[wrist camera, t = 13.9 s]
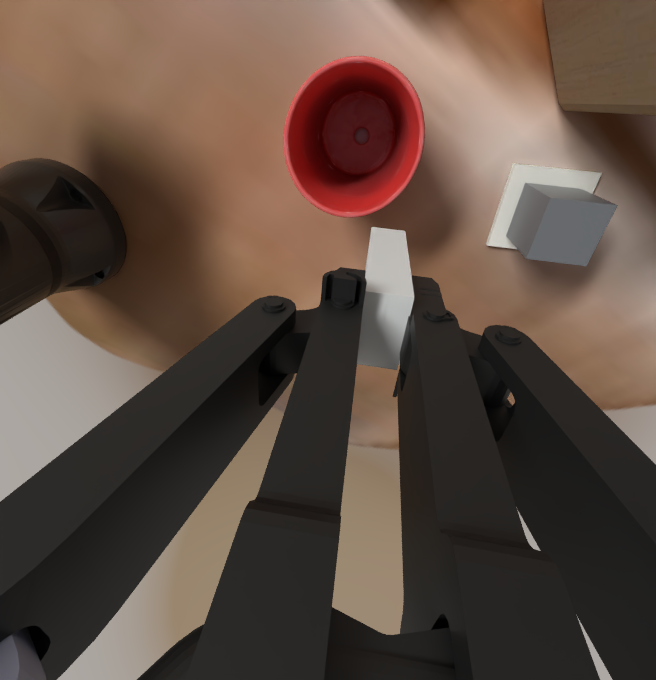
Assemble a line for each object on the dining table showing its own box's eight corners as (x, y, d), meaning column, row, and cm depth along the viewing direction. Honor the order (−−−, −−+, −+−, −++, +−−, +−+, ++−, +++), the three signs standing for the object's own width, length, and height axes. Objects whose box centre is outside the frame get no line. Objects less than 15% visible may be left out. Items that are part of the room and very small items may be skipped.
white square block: (486, 243, 39) (502, 268, 34) (512, 163, 35) (537, 175, 29) (561, 252, 39) (592, 279, 33) (598, 172, 34) (641, 186, 28)
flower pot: (436, 151, 35) (450, 166, 27) (342, 212, 40) (331, 241, 32) (382, 35, 31) (380, 13, 23) (284, 119, 35) (254, 124, 27)
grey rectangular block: (505, 235, 38) (526, 258, 32) (525, 182, 35) (550, 197, 29) (557, 242, 37) (586, 266, 32) (581, 188, 34) (617, 205, 29)
